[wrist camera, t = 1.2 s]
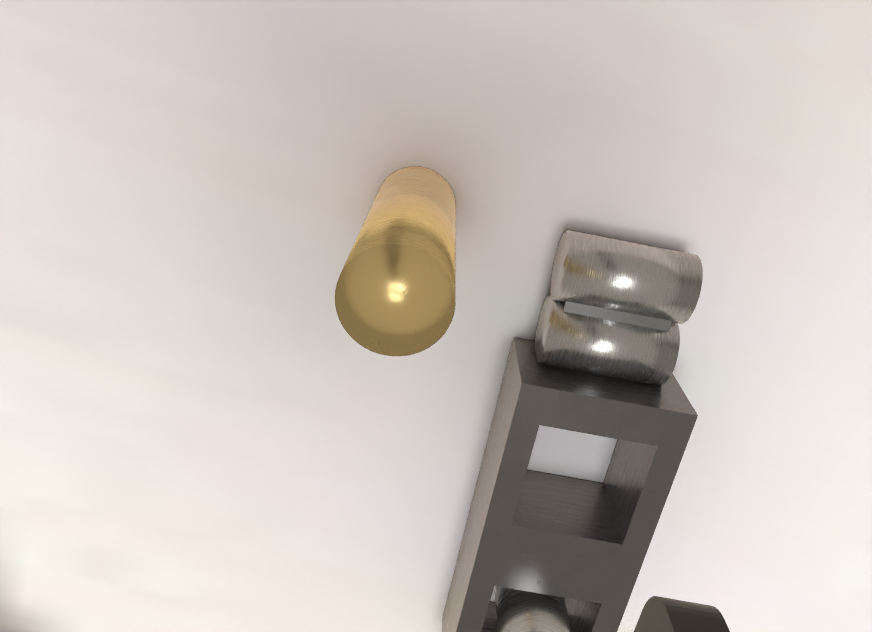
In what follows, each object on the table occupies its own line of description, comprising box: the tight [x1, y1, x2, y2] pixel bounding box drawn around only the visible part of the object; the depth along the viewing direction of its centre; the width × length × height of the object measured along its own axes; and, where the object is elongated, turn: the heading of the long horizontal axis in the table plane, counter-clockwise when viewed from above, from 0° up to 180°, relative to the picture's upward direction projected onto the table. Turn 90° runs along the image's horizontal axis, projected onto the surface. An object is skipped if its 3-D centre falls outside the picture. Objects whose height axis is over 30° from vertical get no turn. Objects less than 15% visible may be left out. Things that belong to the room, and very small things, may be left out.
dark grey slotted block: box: [442, 230, 702, 632], centre depth 30 cm, size 25×6×6 cm, turn 169°
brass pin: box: [335, 166, 456, 356], centre depth 23 cm, size 3×3×10 cm
